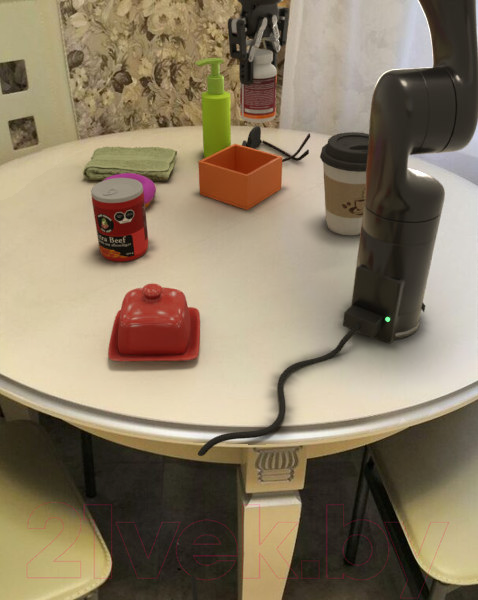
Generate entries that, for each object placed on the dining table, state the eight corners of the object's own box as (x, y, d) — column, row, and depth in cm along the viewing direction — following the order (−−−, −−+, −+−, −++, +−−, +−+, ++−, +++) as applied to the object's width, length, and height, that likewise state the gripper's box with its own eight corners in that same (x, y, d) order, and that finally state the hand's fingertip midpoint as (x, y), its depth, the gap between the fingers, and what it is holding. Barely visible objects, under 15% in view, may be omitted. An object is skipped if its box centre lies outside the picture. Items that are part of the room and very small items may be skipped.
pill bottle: (282, 119, 107) (285, 53, 101) (253, 126, 104) (254, 58, 98) (262, 110, 111) (263, 45, 105) (233, 116, 109) (232, 50, 102)
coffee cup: (329, 245, 101) (337, 159, 93) (305, 215, 110) (310, 133, 102) (392, 236, 104) (406, 151, 95) (363, 207, 113) (373, 126, 104)
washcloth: (171, 183, 121) (170, 168, 119) (82, 183, 121) (79, 167, 120) (178, 158, 132) (177, 143, 130) (96, 157, 132) (94, 142, 130)
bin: (247, 210, 112) (247, 176, 108) (199, 194, 117) (198, 161, 113) (281, 189, 119) (282, 156, 115) (234, 174, 125) (234, 143, 121)
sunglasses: (303, 179, 123) (304, 155, 120) (233, 172, 126) (233, 148, 123) (317, 149, 136) (318, 126, 133) (253, 143, 139) (253, 121, 136)
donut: (149, 216, 110) (147, 192, 107) (93, 213, 111) (90, 189, 108) (161, 191, 118) (159, 169, 116) (109, 189, 119) (106, 166, 117)
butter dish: (201, 313, 86) (198, 261, 81) (199, 368, 77) (196, 312, 72) (118, 314, 86) (111, 262, 81) (106, 370, 76) (97, 314, 71)
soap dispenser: (195, 153, 134) (190, 57, 122) (224, 148, 136) (222, 53, 125) (205, 163, 129) (202, 64, 118) (235, 158, 132) (234, 60, 120)
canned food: (90, 255, 99) (79, 192, 92) (120, 234, 104) (112, 173, 98) (129, 267, 96) (121, 203, 89) (158, 244, 102) (152, 182, 95)
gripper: (252, -25, 88) (251, 93, 98) (306, -36, 97) (300, 73, 107) (211, -30, 92) (214, 85, 101) (267, -39, 101) (264, 66, 111)
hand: (258, 79), depth 104 cm, fingers closed on pill bottle, 6 cm apart
